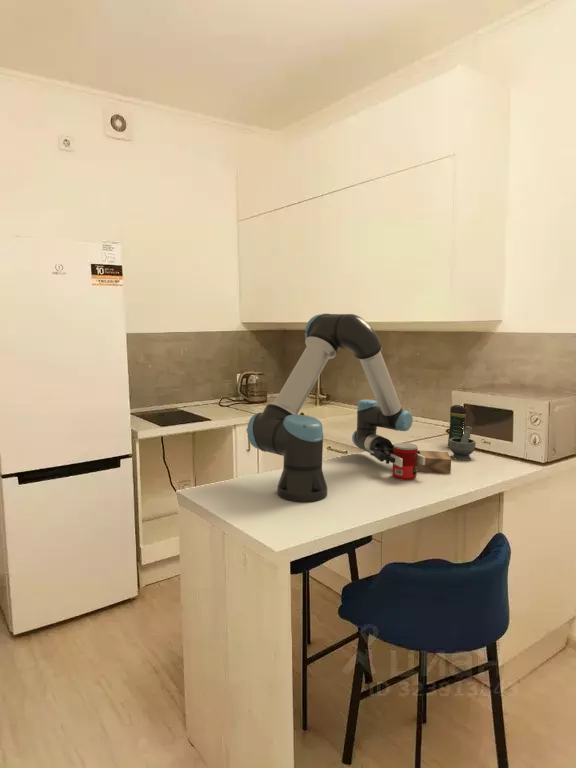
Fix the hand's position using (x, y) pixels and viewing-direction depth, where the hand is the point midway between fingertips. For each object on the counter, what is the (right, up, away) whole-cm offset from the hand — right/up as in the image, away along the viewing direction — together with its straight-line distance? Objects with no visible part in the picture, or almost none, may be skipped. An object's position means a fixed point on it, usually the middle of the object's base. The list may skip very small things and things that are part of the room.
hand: (412, 461), depth 177 cm
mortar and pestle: (+27, -3, +32) cm, 42 cm away
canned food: (-2, -6, +5) cm, 8 cm away
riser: (+11, -5, +17) cm, 20 cm away
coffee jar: (+31, -1, +49) cm, 58 cm away
